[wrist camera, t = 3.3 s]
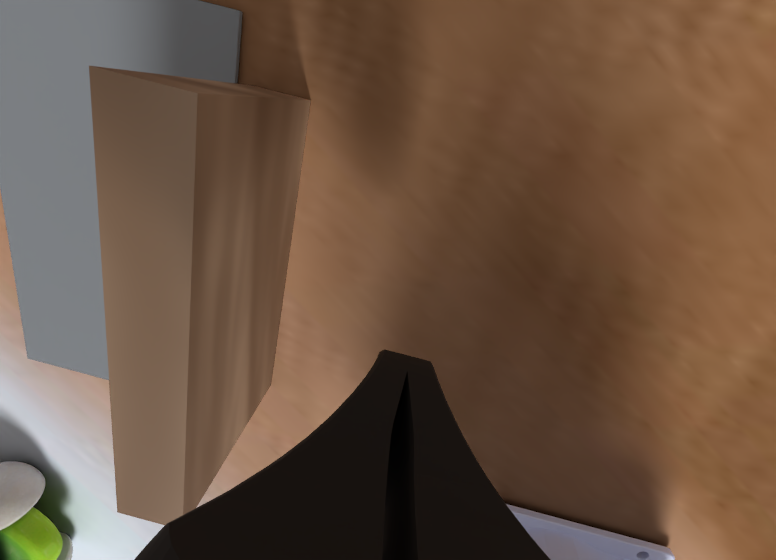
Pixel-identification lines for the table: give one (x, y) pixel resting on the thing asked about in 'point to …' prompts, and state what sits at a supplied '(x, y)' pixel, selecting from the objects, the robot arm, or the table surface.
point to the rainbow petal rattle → (27, 517)
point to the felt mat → (80, 146)
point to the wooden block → (189, 269)
